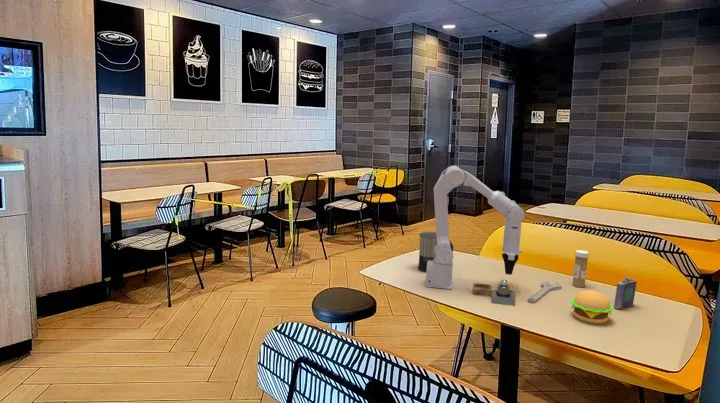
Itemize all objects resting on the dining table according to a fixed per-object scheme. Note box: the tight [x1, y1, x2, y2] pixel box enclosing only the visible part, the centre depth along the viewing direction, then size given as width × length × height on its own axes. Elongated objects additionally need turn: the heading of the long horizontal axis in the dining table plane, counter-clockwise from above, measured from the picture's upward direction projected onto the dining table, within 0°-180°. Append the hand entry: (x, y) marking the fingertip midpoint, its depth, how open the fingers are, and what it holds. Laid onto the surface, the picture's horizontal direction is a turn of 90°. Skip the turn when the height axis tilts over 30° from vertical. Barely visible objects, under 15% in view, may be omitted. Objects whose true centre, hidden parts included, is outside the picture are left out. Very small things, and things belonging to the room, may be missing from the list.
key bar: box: [507, 283, 514, 292], centre depth 172 cm, size 2×7×2 cm, turn 166°
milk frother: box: [417, 231, 454, 273], centre depth 199 cm, size 14×16×15 cm
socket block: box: [490, 289, 517, 306], centre depth 167 cm, size 8×11×2 cm
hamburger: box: [570, 289, 614, 324], centre depth 152 cm, size 12×12×9 cm
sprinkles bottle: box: [571, 249, 590, 288], centre depth 182 cm, size 5×5×13 cm
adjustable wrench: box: [526, 280, 562, 304], centre depth 174 cm, size 25×6×2 cm, turn 136°
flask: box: [613, 275, 638, 311], centre depth 162 cm, size 9×3×11 cm, turn 121°
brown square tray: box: [472, 282, 492, 297], centre depth 172 cm, size 6×6×2 cm
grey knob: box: [497, 279, 509, 297], centre depth 165 cm, size 4×4×7 cm
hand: (508, 273), depth 176 cm, fingers closed
